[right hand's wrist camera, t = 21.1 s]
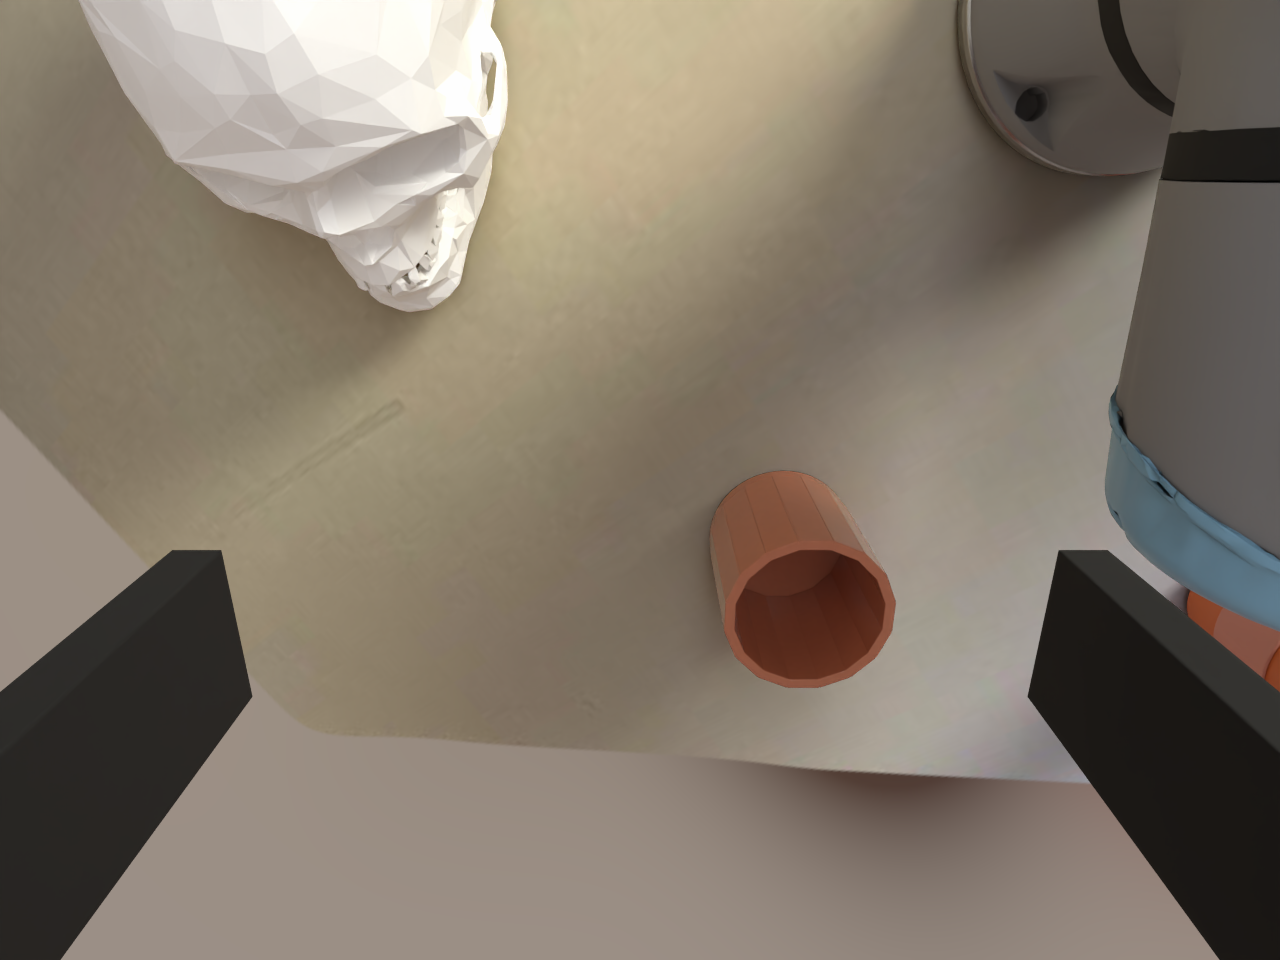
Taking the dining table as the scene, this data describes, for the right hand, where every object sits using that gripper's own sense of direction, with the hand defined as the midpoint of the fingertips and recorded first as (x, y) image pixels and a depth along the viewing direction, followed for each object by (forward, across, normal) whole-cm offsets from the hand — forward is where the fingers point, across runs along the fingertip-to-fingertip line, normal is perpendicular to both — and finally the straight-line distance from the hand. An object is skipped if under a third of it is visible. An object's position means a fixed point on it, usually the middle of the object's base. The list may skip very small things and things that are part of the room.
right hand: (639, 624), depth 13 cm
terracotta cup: (+31, +8, -13) cm, 34 cm away
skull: (+31, -12, +11) cm, 35 cm away
